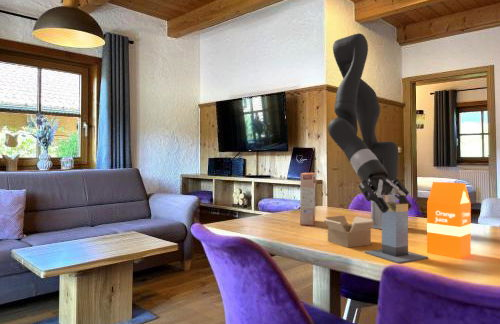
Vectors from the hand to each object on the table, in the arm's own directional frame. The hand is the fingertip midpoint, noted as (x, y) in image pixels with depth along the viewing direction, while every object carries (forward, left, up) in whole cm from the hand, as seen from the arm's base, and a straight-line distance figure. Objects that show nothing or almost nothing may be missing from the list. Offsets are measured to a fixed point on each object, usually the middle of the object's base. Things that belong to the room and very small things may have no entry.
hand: (398, 210), depth 102 cm
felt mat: (0, -1, -13) cm, 13 cm away
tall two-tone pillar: (0, -1, -12) cm, 12 cm away
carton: (+1, -19, -13) cm, 23 cm away
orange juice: (-15, +4, -13) cm, 20 cm away
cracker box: (-9, -56, -13) cm, 58 cm away
